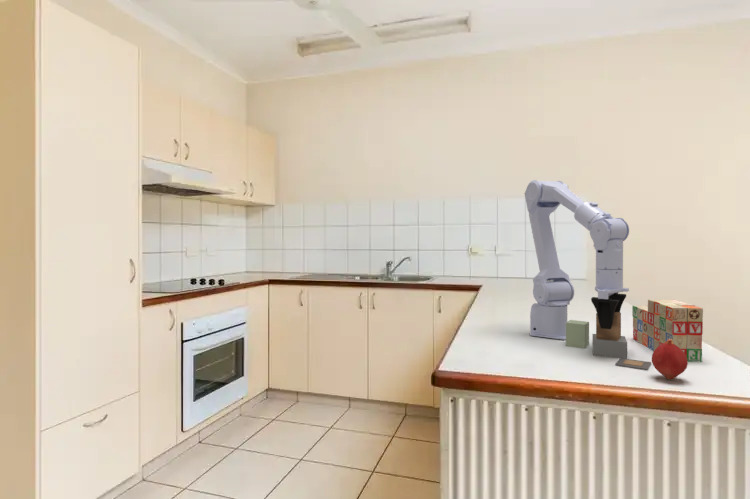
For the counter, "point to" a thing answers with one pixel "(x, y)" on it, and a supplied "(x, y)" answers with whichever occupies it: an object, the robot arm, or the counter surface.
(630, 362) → the card
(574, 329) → the sage block
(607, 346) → the slate base block
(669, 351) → the onion
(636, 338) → the stack of blocks
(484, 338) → the counter surface
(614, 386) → the counter surface
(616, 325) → the walnut block
